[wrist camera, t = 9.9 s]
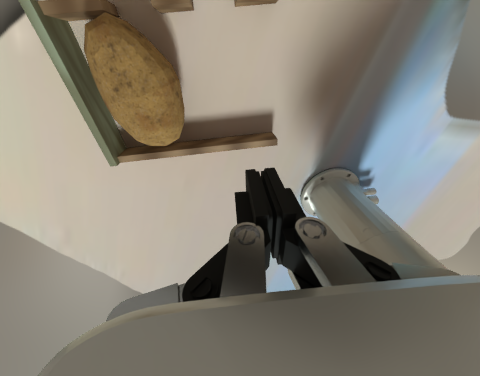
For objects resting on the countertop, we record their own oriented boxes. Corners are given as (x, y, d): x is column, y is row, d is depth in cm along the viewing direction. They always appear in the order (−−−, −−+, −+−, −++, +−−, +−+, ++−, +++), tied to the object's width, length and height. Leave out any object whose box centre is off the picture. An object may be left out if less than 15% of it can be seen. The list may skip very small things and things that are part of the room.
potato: (158, 9, 22) (132, -13, 15) (201, 125, 30) (196, 142, 23) (84, 35, 22) (29, 24, 16) (146, 141, 30) (126, 162, 24)
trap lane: (275, -9, 22) (287, -23, 18) (272, 137, 32) (278, 147, 28) (53, 10, 21) (17, -1, 17) (123, 154, 31) (110, 166, 28)
